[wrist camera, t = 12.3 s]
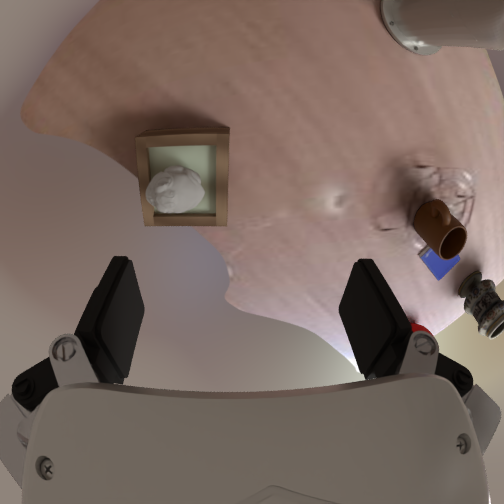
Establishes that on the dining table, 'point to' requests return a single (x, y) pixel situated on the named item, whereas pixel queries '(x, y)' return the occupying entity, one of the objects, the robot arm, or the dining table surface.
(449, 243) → the mug
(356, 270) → the robot arm
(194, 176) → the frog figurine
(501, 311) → the apothecary jar
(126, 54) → the dining table surface
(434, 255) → the hard drive
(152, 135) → the pedestal
